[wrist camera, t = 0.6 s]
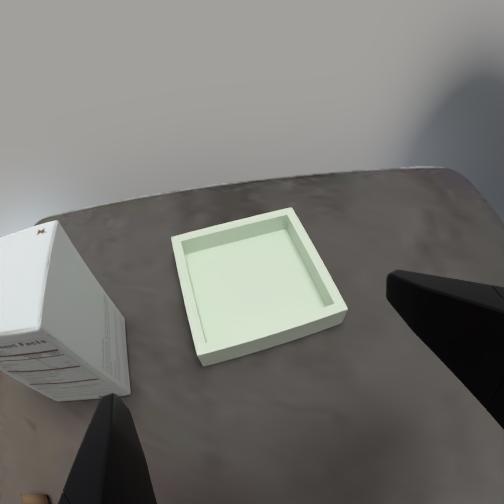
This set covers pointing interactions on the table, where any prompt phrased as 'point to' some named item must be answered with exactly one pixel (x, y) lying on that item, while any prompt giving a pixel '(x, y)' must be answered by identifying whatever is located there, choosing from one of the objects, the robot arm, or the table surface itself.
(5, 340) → the supplement box
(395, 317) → the table surface
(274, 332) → the dock tray
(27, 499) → the walnut lock pin
